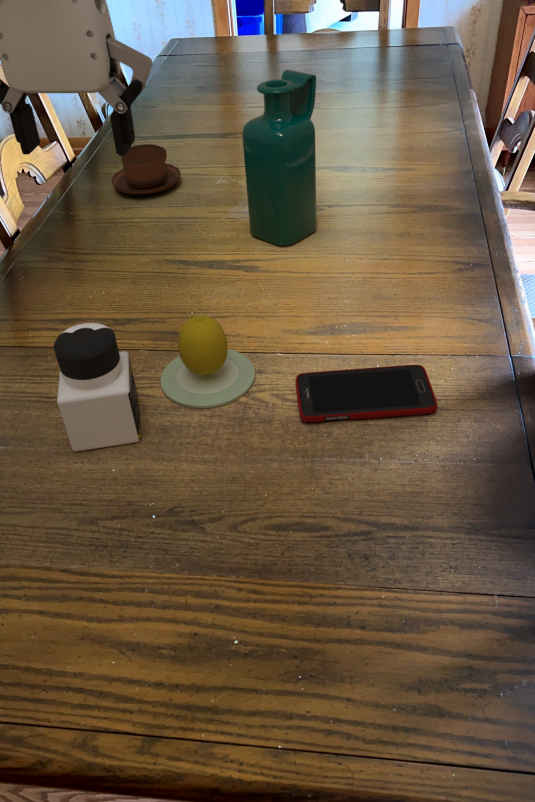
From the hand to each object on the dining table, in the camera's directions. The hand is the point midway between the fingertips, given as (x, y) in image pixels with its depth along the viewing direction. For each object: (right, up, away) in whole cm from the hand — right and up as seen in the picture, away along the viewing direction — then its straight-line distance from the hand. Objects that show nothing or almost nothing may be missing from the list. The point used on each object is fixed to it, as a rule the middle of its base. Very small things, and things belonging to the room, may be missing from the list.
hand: (78, 150), depth 71 cm
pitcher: (+22, +1, +39) cm, 45 cm away
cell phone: (+30, -25, +7) cm, 39 cm away
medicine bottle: (+2, -28, +6) cm, 29 cm away
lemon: (+12, -22, +11) cm, 28 cm away
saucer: (+12, -22, +12) cm, 28 cm away
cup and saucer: (-2, +13, +55) cm, 57 cm away
